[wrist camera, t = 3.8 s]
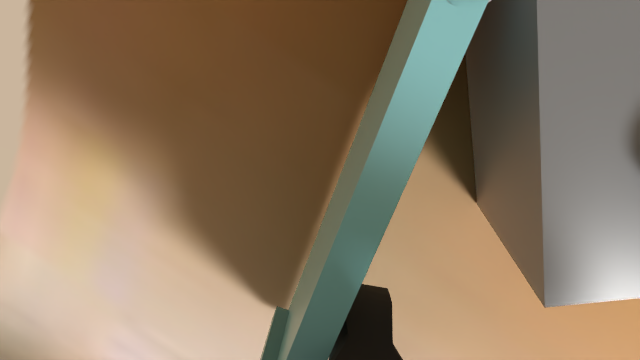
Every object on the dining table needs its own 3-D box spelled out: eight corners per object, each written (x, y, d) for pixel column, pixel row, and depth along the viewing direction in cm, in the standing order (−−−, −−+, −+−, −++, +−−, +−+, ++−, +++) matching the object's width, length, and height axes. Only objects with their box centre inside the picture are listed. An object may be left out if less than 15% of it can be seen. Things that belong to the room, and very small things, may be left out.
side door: (405, -41, 10) (435, -84, 6) (456, -22, 10) (519, -52, 6) (267, 330, 14) (230, 452, 10) (304, 343, 14) (282, 469, 10)
